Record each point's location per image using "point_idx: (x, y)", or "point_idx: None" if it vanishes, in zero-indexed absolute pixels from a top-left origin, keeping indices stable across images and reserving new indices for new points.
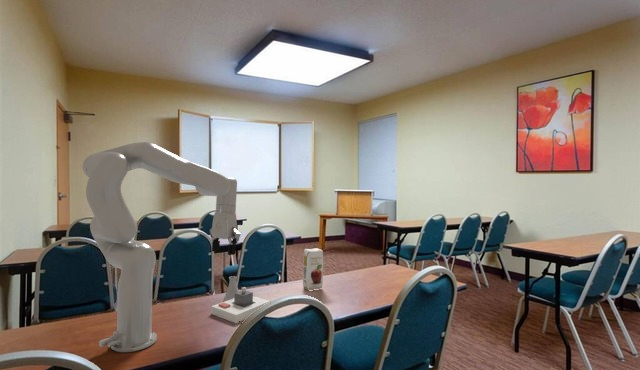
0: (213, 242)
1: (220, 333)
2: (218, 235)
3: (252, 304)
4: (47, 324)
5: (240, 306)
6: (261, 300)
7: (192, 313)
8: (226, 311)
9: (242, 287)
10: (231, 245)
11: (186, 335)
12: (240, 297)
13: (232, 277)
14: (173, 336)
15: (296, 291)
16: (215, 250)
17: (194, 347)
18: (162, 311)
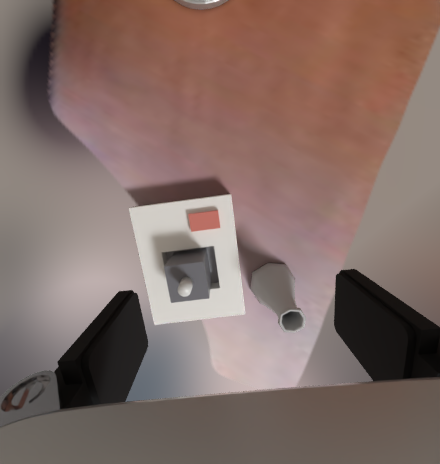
0: (407, 324)
1: (110, 147)
2: (271, 455)
3: (164, 279)
4: None
5: (173, 249)
6: (173, 312)
7: (269, 160)
8: (167, 203)
9: (190, 289)
10: (62, 374)
11: (153, 78)
12: (177, 262)
13: (300, 322)
14: (169, 49)
15: None
16: (338, 296)
17: (81, 59)
18: (344, 105)
